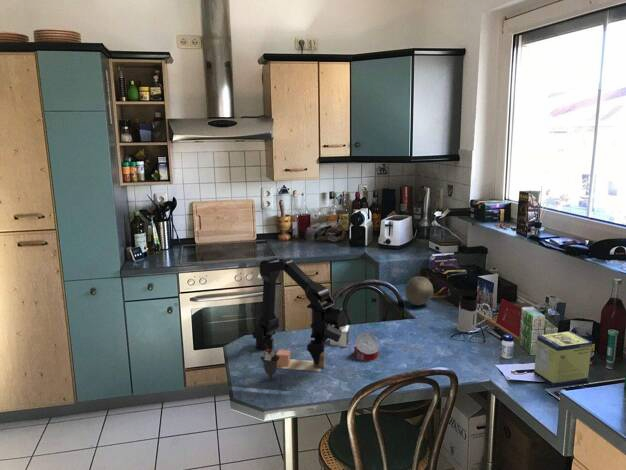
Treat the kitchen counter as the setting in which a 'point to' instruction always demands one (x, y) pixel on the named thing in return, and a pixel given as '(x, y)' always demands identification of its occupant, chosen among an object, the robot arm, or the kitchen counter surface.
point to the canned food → (366, 347)
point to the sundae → (270, 362)
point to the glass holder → (468, 313)
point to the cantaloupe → (419, 290)
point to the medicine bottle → (342, 336)
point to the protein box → (562, 358)
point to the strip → (306, 364)
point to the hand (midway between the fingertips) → (319, 359)
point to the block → (283, 357)
